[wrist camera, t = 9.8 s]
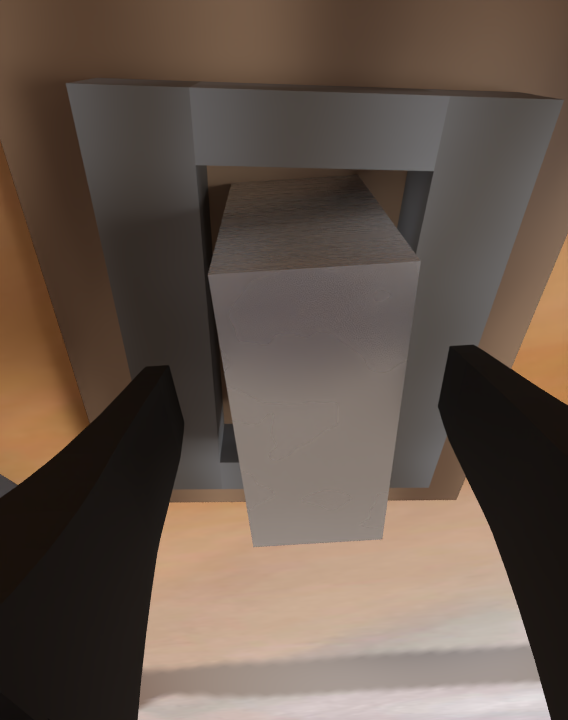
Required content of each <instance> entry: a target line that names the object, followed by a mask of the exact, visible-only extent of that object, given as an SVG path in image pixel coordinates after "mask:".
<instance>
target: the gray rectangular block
mask: <svg viewBox="0 0 568 720" xmlns="http://www.w3.org/2000/svg"><path fill="white" fill-rule="evenodd" d="M420 264H421V261H420V259H419V258H418V257H417V255H416V254H415V253H414V251H413V250H412V248H411V247H410V246H409V244H408V243H407V242H406V240H405V239H404V237H403V236H402V235H401V233H400V232H399V231H398V229H397V228H396V226H395V225H394V224H393V222H392V221H391V220H390V218H389V217H388V215H387V214H386V213H385V211H384V210H383V208H382V207H381V206H380V204H379V203H378V202H377V200H376V199H375V197H374V196H373V195H372V193H371V192H370V191H369V189H368V188H367V186H366V185H365V184H364V182H363V181H362V180H361V178H360V177H359V175H347V176H332V177H316V178H300V179H284V180H269V181H253V182H237V183H231V187H230V191H229V195H228V199H227V203H226V206H225V210H224V214H223V218H222V222H221V226H220V230H219V233H218V237H217V241H216V245H215V249H214V253H213V257H212V260H211V264H210V268H209V272H208V279H209V285H210V291H211V297H212V303H213V309H214V315H215V321H216V327H217V333H218V339H219V344H220V350H221V356H222V362H223V368H224V374H225V380H226V386H227V392H228V398H229V404H230V410H231V416H232V422H233V428H234V434H235V440H236V446H237V452H238V458H239V464H240V470H241V476H242V482H243V488H244V494H245V500H246V506H247V512H248V517H249V523H250V529H251V535H252V541H253V547H263V546H279V545H296V544H312V543H329V542H345V541H362V540H378V539H382V537H383V529H384V522H385V515H386V508H387V501H388V494H389V486H390V479H391V472H392V465H393V458H394V450H395V443H396V436H397V429H398V422H399V414H400V407H401V400H402V393H403V386H404V379H405V371H406V364H407V357H408V350H409V343H410V335H411V328H412V321H413V314H414V307H415V300H416V292H417V285H418V278H419V271H420Z"/></svg>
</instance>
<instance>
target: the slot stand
mask: <svg viewBox="0 0 568 720" xmlns="http://www.w3.org/2000/svg"><path fill="white" fill-rule="evenodd" d="M0 140H1V143H2V147H3V150H4V153H5V156H6V159H7V162H8V166H9V169H10V172H11V175H12V178H13V181H14V185H15V188H16V191H17V194H18V197H19V200H20V204H21V207H22V210H23V213H24V216H25V219H26V223H27V226H28V229H29V232H30V235H31V238H32V242H33V245H34V248H35V251H36V254H37V257H38V261H39V264H40V267H41V270H42V273H43V276H44V280H45V283H46V286H47V289H48V292H49V295H50V299H51V302H52V305H53V308H54V311H55V314H56V318H57V321H58V324H59V327H60V330H61V333H62V337H63V340H64V343H65V346H66V349H67V352H68V356H69V359H70V362H71V365H72V368H73V371H74V375H75V378H76V381H77V384H78V387H79V390H80V394H81V397H82V400H83V403H84V406H85V409H86V413H87V416H88V419H89V422H90V423H92V422H93V421H94V420H95V419H96V418H97V417H98V416H99V415H100V414H101V413H102V412H103V411H104V410H105V409H106V407H107V406H108V405H109V404H110V403H111V402H112V401H113V400H114V399H115V398H116V397H117V396H118V395H119V394H120V393H121V392H122V391H123V390H124V389H125V388H126V386H127V385H128V384H129V383H130V382H131V381H132V380H133V379H134V378H135V377H136V376H137V375H138V374H139V373H140V372H141V371H142V370H143V369H144V368H145V367H146V366H161V365H169V367H170V371H171V374H172V378H173V382H174V386H175V389H176V393H177V397H178V400H179V404H180V408H181V412H182V415H183V419H184V433H183V443H182V450H181V458H180V462H179V466H178V470H177V474H176V478H175V482H174V486H173V490H172V494H171V498H170V502H246V500H245V494H244V488H243V482H242V476H241V470H240V464H239V458H238V452H237V446H236V440H235V434H234V428H233V422H232V416H231V410H230V404H229V398H228V392H227V386H226V380H225V374H224V368H223V362H222V356H221V350H220V344H219V339H218V333H217V327H216V321H215V315H214V309H213V303H212V297H211V291H210V285H209V279H208V272H209V268H210V264H211V260H212V257H213V253H214V249H215V245H216V241H217V237H218V233H219V230H220V226H221V222H222V218H223V214H224V210H225V206H226V203H227V199H228V195H229V191H230V187H231V183H237V182H253V181H269V180H284V179H300V178H316V177H332V176H347V175H359V177H360V178H361V180H362V181H363V182H364V184H365V185H366V186H367V188H368V189H369V191H370V192H371V193H372V195H373V196H374V197H375V199H376V200H377V202H378V203H379V204H380V206H381V207H382V208H383V210H384V211H385V213H386V214H387V215H388V217H389V218H390V220H391V221H392V222H393V224H394V225H395V226H396V228H397V229H398V231H399V232H400V233H401V235H402V236H403V237H404V239H405V240H406V242H407V243H408V244H409V246H410V247H411V248H412V250H413V251H414V253H415V254H416V255H417V257H418V258H419V259H420V261H421V264H420V271H419V278H418V285H417V292H416V300H415V307H414V314H413V321H412V328H411V335H410V343H409V350H408V357H407V364H406V371H405V379H404V386H403V393H402V400H401V407H400V414H399V422H398V429H397V436H396V443H395V450H394V458H393V465H392V472H391V479H390V486H389V494H388V500H456V499H457V497H458V495H459V492H460V490H461V487H462V485H463V483H464V480H465V478H466V476H465V474H464V472H463V470H462V468H461V465H460V463H459V461H458V459H457V457H456V455H455V453H454V451H453V449H452V447H451V444H450V442H449V440H448V437H447V434H446V431H445V428H444V425H443V422H442V419H441V415H440V412H439V409H438V402H439V397H440V392H441V387H442V382H443V377H444V372H445V367H446V361H447V356H448V351H449V346H458V345H473V344H474V345H475V346H477V347H479V348H480V349H482V350H484V351H485V352H487V353H488V354H490V355H491V356H493V357H494V358H496V359H497V360H499V361H500V362H502V363H503V364H505V365H506V366H508V367H509V368H510V369H511V368H512V365H513V363H514V361H515V358H516V356H517V353H518V351H519V349H520V346H521V344H522V341H523V339H524V337H525V334H526V332H527V329H528V327H529V325H530V322H531V320H532V317H533V315H534V313H535V310H536V308H537V305H538V303H539V301H540V298H541V296H542V293H543V291H544V289H545V286H546V284H547V282H548V279H549V277H550V274H551V272H552V270H553V267H554V265H555V262H556V260H557V258H558V255H559V253H560V250H561V248H562V246H563V243H564V241H565V238H566V236H567V234H568V0H0Z"/></svg>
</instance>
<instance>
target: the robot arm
mask: <svg viewBox="0 0 568 720" xmlns="http://www.w3.org/2000/svg"><path fill="white" fill-rule="evenodd" d="M438 409H439V412H440V415H441V419H442V422H443V425H444V428H445V431H446V434H447V437H448V440H449V442H450V444H451V447H452V449H453V451H454V453H455V455H456V457H457V459H458V461H459V463H460V465H461V468H462V470H463V472H464V474H465V476H466V478H467V480H468V482H469V484H470V486H471V488H472V490H473V492H474V494H475V496H476V498H477V500H478V502H479V504H480V506H481V509H482V511H483V513H484V515H485V517H486V519H487V522H488V524H489V526H490V528H491V531H492V533H493V536H494V539H495V541H496V544H497V547H498V550H499V552H500V555H501V558H502V561H503V563H504V566H505V569H506V572H507V575H508V578H509V581H510V584H511V587H512V590H513V593H514V596H515V599H516V602H517V605H518V608H519V611H520V614H521V617H522V620H523V624H524V627H525V630H526V633H527V637H528V640H529V643H530V646H531V650H532V653H533V656H534V659H535V663H536V666H537V670H538V673H539V677H540V681H541V684H542V688H543V692H544V695H545V699H546V702H547V706H548V710H549V713H550V717H551V720H568V405H566V404H565V403H563V402H561V401H560V400H558V399H557V398H555V397H553V396H552V395H550V394H548V393H547V392H545V391H544V390H542V389H541V388H539V387H538V386H536V385H534V384H533V383H531V382H530V381H528V380H527V379H525V378H524V377H522V376H521V375H519V374H518V373H516V372H515V371H513V370H512V369H510V368H509V367H508V366H506V365H505V364H503V363H502V362H500V361H499V360H497V359H496V358H494V357H493V356H491V355H490V354H488V353H487V352H485V351H484V350H482V349H480V348H479V347H477V346H475V345H474V344H473V345H458V346H449V351H448V356H447V361H446V367H445V372H444V377H443V382H442V387H441V392H440V397H439V402H438ZM183 433H184V419H183V415H182V412H181V408H180V404H179V400H178V397H177V393H176V389H175V386H174V382H173V378H172V374H171V371H170V367H169V365H161V366H146V367H145V368H144V369H143V370H142V371H141V372H140V373H139V374H138V375H137V376H136V377H135V378H134V379H133V380H132V381H131V382H130V383H129V384H128V385H127V386H126V388H125V389H124V390H123V391H122V392H121V393H120V394H119V395H118V396H117V397H116V398H115V399H114V400H113V401H112V402H111V403H110V404H109V405H108V406H107V407H106V409H105V410H104V411H103V412H102V413H101V414H100V415H99V416H98V417H97V418H96V419H95V420H94V421H93V422H92V423H90V424H89V425H88V426H87V427H86V428H85V429H84V430H83V431H82V432H81V433H80V434H79V435H78V436H77V437H76V438H75V439H73V440H72V441H71V442H70V443H69V444H68V445H67V446H66V447H65V448H64V449H63V450H61V451H60V452H59V453H58V454H57V455H56V456H54V457H53V458H52V459H51V460H50V461H48V462H47V463H46V464H45V465H44V466H42V467H41V468H40V469H38V470H37V471H36V472H35V473H33V474H32V475H31V476H30V477H28V478H27V479H26V480H24V481H23V482H22V483H20V484H19V485H18V486H16V487H15V488H13V489H12V490H11V491H9V492H8V493H6V494H5V495H3V496H2V497H1V498H0V720H138V709H139V697H140V686H141V676H142V667H143V658H144V649H145V639H146V631H147V623H148V615H149V607H150V600H151V592H152V585H153V578H154V572H155V565H156V558H157V552H158V547H159V542H160V538H161V533H162V529H163V526H164V522H165V518H166V514H167V510H168V506H169V502H170V498H171V494H172V490H173V486H174V482H175V478H176V474H177V470H178V466H179V462H180V458H181V450H182V443H183Z"/></svg>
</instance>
